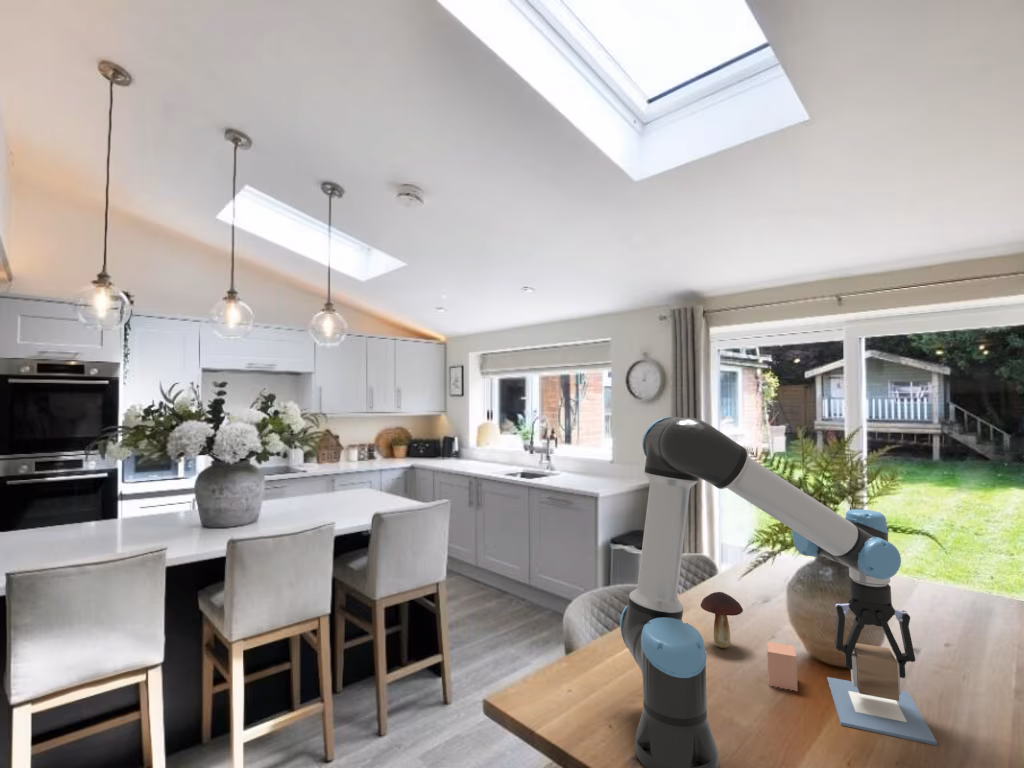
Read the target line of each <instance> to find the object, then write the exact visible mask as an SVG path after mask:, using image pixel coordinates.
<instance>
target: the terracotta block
mask: <svg viewBox="0 0 1024 768" xmlns="http://www.w3.org/2000/svg"><path fill="white" fill-rule="evenodd" d="M795 648H796V647H795V645H792V644H791V645H790V644H784V643H779V642H772V641H766V652H767V654H766V657H767V678H768V686H769V687H772V686H775V687H774V688H777V687H780V688H779V689H782V688H786V689H785V690H787V689H790V690H789V691H792V690H795V691H794V692H797V691H799V689H798V670H797V669H798V668H797V654H796V653H797V652H796V649H795Z"/></svg>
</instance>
